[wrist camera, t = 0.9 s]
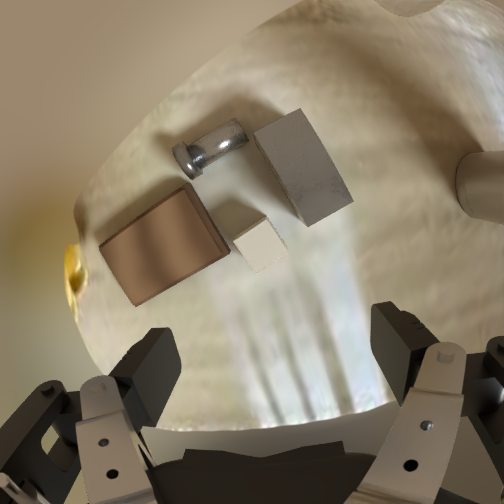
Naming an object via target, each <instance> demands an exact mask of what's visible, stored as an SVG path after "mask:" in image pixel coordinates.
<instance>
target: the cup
mask: <svg viewBox="0 0 504 504" xmlns="http://www.w3.org/2000/svg"><path fill="white" fill-rule="evenodd" d="M375 1H376V2H377V3H378V4H379V5H380V6H381V7H383V8H384V9H386V10H387V11H389V12H391V13H393V14H395V15H398V16H402V17H411V16H415V15H418V14H421V13H424V12H427V11H429V10H431V9H433V8H434V7H436V6H438V5H440V4H442V3H443V2H444V1H445V0H375Z"/></svg>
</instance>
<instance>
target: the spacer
mask: <svg viewBox="0 0 504 504" xmlns="http://www.w3.org/2000/svg"><path fill="white" fill-rule="evenodd" d="M233 242H234V243H235V245H236V246H237V248H238V249H239V251H240V252H241V254H242V255H243V256H244V258H245V259H246V261H247V262H248V264H249V265H250V266H251V268H252V269H253V271H254V272H255V274H256V273H258V272H259V271H261V270H262V269H264V268H265V267H267V266H269V265H270V264H272V263H273V262H275V261H276V260H278V259H280V258H281V257H283V256H284V255H286V254H287V253H289V252H288V249H287V246H286V244H285V243H284V241H283V240H282V238H281V237H280V235H279V234H278V232H277V231H276V229H275V228H274V226H273V225H272V223H271V222H270V220H269V219H268V217H267V216H265V217H263V218H262V219H260V220H259V221H257V222H256V223H254V224H253V225H251V226H250V227H248V228H247V229H245V230H244V231H242V232H241V233H239V234H238V235H237V236H236V238H235V239H234V241H233Z"/></svg>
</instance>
